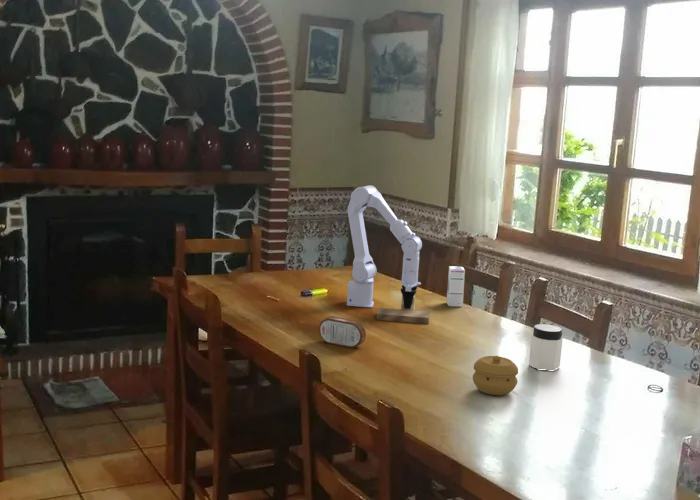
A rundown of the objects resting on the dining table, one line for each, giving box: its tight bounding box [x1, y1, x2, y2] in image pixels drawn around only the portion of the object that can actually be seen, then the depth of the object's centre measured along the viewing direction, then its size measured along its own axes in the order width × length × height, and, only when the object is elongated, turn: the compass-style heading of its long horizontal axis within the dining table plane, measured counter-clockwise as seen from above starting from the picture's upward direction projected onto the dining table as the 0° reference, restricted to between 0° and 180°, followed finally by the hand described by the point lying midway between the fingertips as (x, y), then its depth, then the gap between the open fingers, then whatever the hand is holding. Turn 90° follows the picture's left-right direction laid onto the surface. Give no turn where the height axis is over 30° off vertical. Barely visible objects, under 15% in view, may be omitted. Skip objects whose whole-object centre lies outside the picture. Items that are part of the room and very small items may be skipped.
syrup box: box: [446, 265, 466, 308], centre depth 307 cm, size 6×6×14 cm
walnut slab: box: [376, 307, 430, 325], centre depth 284 cm, size 18×9×2 cm, turn 83°
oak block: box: [400, 294, 416, 311], centre depth 293 cm, size 4×4×6 cm
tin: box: [318, 315, 367, 349], centre depth 248 cm, size 15×3×8 cm, turn 65°
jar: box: [528, 323, 564, 370], centre depth 237 cm, size 9×8×12 cm
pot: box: [472, 355, 519, 396], centre depth 214 cm, size 12×12×10 cm
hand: (407, 306), depth 293 cm, fingers closed on oak block, 4 cm apart
